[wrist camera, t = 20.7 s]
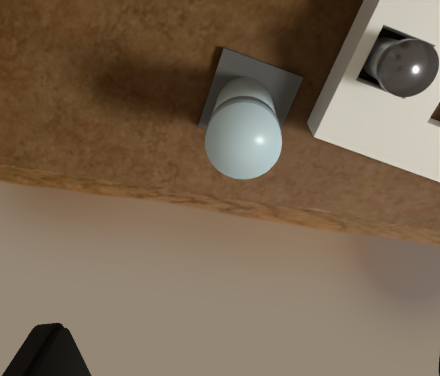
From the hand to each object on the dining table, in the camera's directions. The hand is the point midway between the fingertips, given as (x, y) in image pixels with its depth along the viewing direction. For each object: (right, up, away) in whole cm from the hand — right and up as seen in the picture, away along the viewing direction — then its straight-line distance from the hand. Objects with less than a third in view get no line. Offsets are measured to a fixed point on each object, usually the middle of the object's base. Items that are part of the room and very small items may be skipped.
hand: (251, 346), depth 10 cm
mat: (+2, +12, +24) cm, 26 cm away
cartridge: (+1, +11, +23) cm, 26 cm away
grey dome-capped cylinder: (+12, +14, +20) cm, 28 cm away
